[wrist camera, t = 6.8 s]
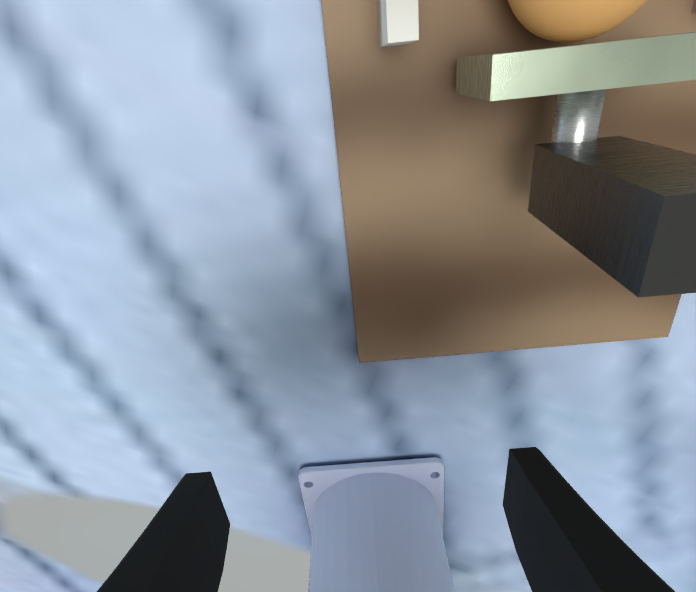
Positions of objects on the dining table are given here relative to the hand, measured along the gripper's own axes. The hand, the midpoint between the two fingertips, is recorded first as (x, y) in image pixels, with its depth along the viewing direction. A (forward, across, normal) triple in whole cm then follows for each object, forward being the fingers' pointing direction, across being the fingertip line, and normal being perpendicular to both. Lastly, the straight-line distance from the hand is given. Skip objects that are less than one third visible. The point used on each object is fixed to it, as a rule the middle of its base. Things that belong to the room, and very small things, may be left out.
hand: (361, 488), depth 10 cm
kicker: (+8, -7, -7) cm, 13 cm away
